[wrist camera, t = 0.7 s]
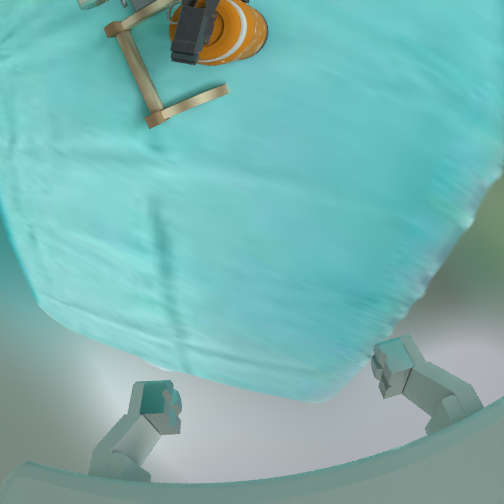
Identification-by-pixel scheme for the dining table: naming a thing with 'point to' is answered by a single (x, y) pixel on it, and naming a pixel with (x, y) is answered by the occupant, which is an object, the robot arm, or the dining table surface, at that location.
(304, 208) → the dining table surface
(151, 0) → the mirror on stand
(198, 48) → the canister
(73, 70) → the dining table surface
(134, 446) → the robot arm
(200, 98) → the cradle
